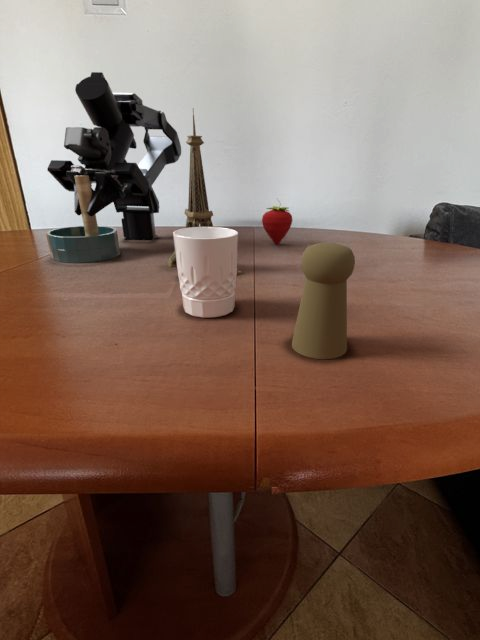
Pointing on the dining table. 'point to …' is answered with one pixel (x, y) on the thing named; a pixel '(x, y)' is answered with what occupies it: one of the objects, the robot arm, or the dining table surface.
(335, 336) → the cork
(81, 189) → the stick
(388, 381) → the dining table surface
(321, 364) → the dining table surface
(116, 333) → the dining table surface
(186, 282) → the white cup
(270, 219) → the strawberry
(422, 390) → the dining table surface
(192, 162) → the eiffel tower
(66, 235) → the bowl
